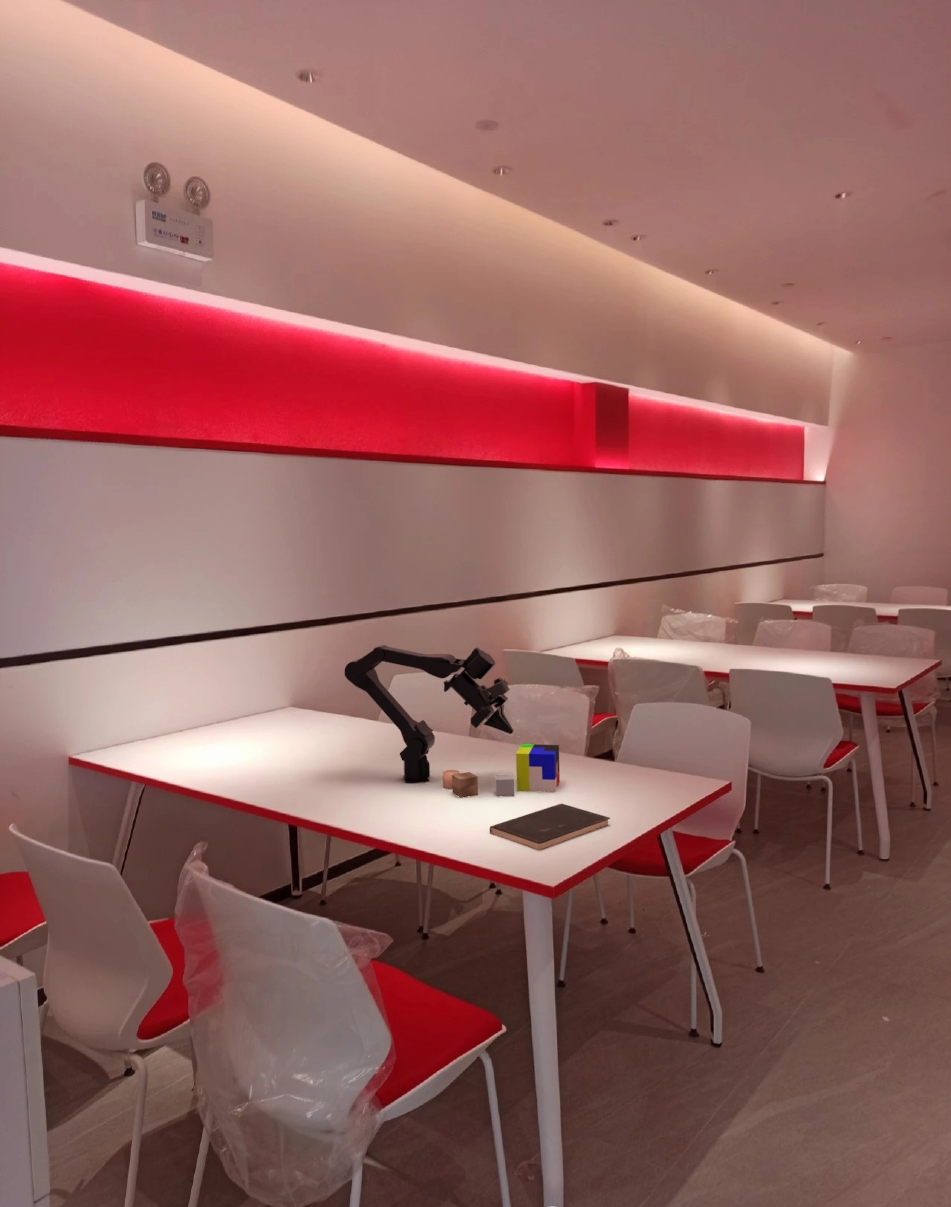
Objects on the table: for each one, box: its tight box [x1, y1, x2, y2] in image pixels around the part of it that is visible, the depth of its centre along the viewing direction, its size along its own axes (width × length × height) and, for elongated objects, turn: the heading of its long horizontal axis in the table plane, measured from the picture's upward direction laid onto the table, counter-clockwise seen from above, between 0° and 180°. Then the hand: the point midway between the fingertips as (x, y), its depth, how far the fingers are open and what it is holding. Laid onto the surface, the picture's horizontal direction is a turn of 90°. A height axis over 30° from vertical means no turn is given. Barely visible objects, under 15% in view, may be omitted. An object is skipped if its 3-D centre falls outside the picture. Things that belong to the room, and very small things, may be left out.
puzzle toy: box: [515, 743, 561, 793], centre depth 249 cm, size 10×10×10 cm
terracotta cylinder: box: [442, 769, 460, 790], centre depth 251 cm, size 4×4×4 cm
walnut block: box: [451, 771, 479, 799], centre depth 244 cm, size 5×5×5 cm
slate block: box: [495, 774, 515, 797], centre depth 244 cm, size 4×4×4 cm
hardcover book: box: [489, 803, 611, 850], centre depth 216 cm, size 16×23×2 cm
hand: (512, 732), depth 250 cm, fingers closed
